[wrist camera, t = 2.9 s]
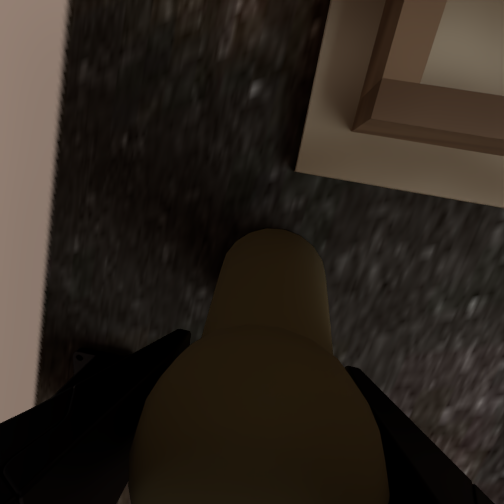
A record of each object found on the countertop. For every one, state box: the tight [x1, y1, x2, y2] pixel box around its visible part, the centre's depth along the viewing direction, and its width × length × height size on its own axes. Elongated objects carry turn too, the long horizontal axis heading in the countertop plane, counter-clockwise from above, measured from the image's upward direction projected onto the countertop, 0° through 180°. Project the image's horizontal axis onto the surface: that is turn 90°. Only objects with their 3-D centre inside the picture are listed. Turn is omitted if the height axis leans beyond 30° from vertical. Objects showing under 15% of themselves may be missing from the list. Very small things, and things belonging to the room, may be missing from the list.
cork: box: [128, 228, 390, 504], centre depth 9 cm, size 6×6×11 cm
